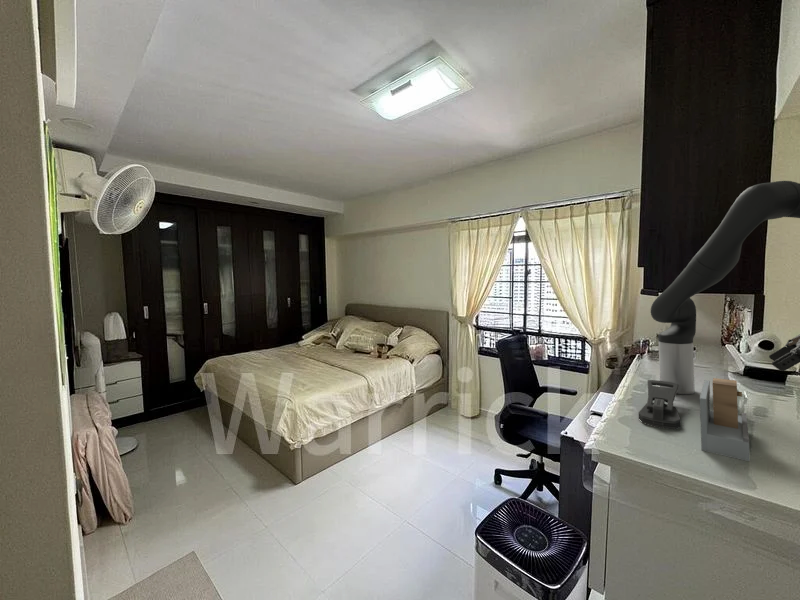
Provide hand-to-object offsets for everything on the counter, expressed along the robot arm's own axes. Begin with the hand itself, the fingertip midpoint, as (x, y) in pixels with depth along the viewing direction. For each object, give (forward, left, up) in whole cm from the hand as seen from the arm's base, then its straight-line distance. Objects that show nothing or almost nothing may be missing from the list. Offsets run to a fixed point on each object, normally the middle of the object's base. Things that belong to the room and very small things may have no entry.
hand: (774, 363), depth 70 cm
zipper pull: (-11, -21, -20) cm, 31 cm away
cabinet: (0, -8, -15) cm, 17 cm away
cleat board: (+1, -8, -19) cm, 21 cm away
